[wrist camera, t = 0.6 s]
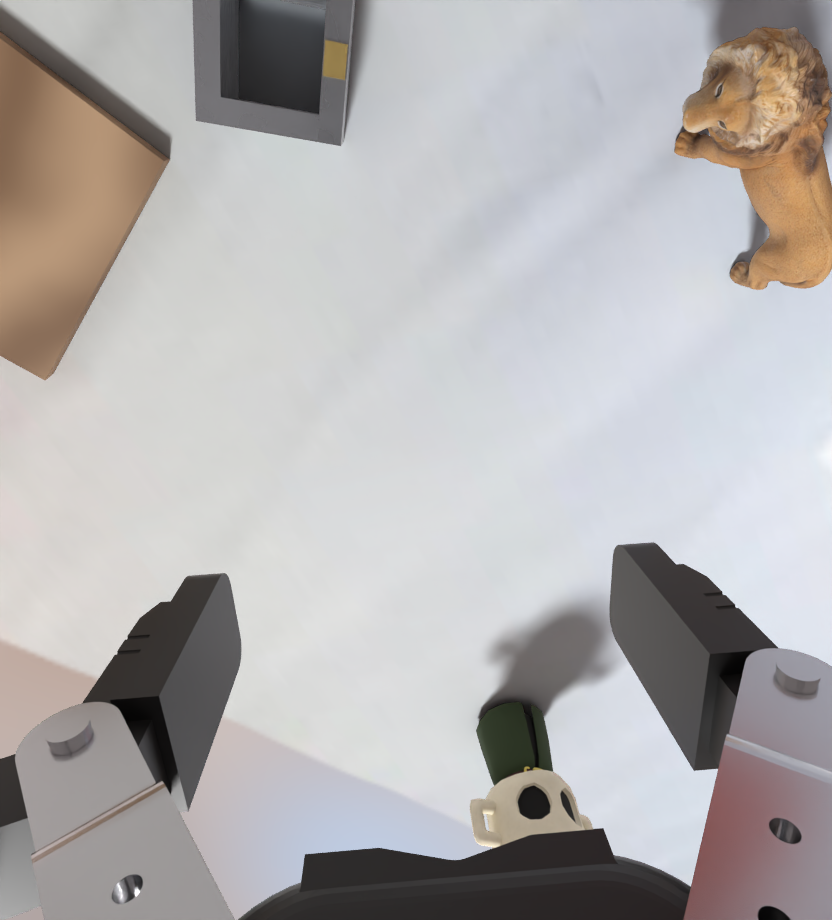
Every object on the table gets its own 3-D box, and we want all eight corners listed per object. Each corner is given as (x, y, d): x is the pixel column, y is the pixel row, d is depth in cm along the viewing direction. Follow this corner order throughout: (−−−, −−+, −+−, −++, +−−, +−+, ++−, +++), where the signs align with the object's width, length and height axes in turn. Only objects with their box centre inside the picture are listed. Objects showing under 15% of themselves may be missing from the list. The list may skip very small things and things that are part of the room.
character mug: (579, 705, 53) (636, 863, 42) (541, 750, 56) (585, 908, 45) (472, 682, 50) (503, 844, 39) (438, 731, 53) (458, 894, 42)
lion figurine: (608, 103, 29) (699, 100, 21) (702, 8, 27) (838, -33, 19) (747, 309, 35) (857, 366, 27) (831, 242, 33) (973, 282, 25)
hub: (216, 119, 28) (195, 120, 24) (214, -43, 25) (190, -69, 21) (343, 141, 28) (340, 145, 25) (356, -13, 25) (355, -33, 22)
